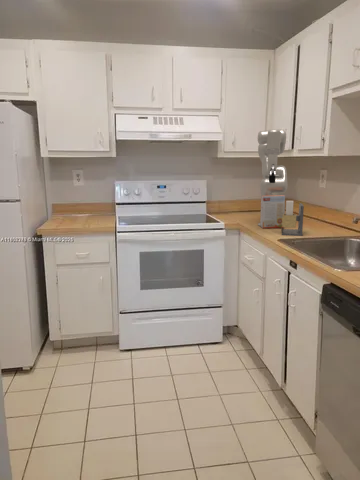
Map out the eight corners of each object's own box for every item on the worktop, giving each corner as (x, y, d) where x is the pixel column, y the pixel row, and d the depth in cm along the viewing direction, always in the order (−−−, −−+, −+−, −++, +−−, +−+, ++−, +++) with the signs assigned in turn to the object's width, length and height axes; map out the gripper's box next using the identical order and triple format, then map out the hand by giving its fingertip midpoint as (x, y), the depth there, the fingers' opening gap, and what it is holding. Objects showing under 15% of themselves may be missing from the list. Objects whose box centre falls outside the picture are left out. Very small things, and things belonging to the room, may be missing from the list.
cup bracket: (281, 230, 227) (282, 203, 224) (300, 231, 224) (302, 203, 221) (281, 235, 212) (282, 205, 209) (302, 235, 209) (304, 206, 206)
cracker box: (281, 226, 242) (282, 194, 238) (284, 228, 236) (285, 195, 232) (260, 227, 241) (261, 195, 237) (262, 228, 236) (263, 195, 232)
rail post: (285, 224, 220) (286, 200, 218) (292, 224, 219) (293, 200, 216) (285, 225, 216) (286, 201, 214) (292, 225, 215) (293, 201, 213)
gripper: (266, 152, 221) (265, 181, 225) (266, 152, 205) (265, 183, 208) (279, 152, 220) (277, 181, 224) (280, 152, 203) (279, 183, 207)
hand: (272, 182), depth 216 cm, fingers open, 9 cm apart
